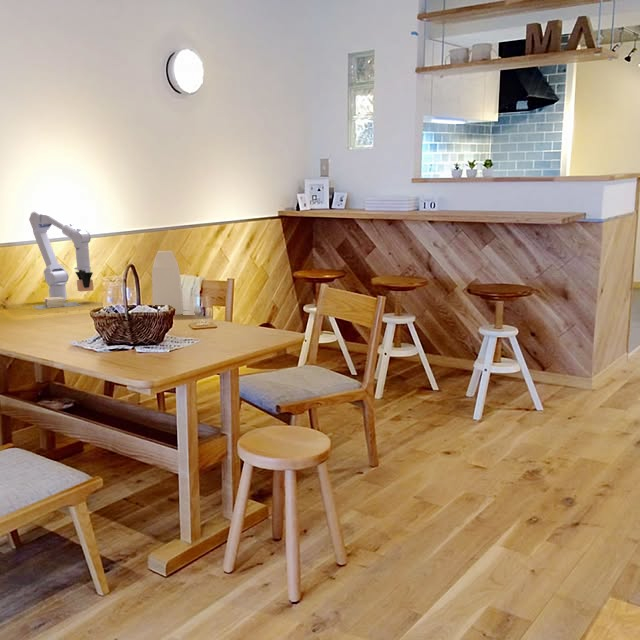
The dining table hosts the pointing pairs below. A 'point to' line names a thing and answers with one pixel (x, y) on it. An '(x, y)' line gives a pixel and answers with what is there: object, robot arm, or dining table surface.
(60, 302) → the birch block
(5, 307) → the dining table surface
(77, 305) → the baseplate
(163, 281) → the milk
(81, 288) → the terracotta brick
